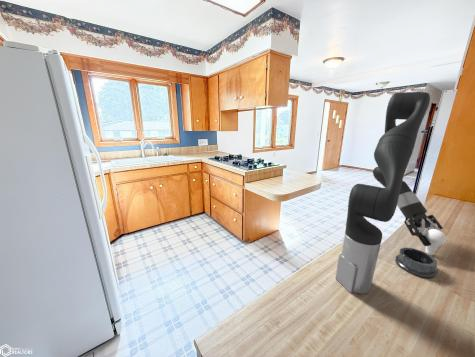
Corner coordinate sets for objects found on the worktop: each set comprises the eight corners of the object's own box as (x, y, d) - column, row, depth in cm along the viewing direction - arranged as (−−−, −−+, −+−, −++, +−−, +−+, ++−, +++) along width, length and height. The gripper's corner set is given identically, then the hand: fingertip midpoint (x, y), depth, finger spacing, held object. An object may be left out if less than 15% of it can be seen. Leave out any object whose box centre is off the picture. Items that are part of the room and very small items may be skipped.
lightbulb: (444, 260, 71) (453, 235, 68) (425, 258, 72) (433, 233, 69) (432, 250, 77) (439, 226, 74) (414, 248, 78) (421, 225, 75)
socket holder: (422, 281, 62) (425, 270, 60) (387, 259, 72) (390, 249, 70) (444, 274, 64) (448, 263, 63) (408, 254, 75) (411, 244, 73)
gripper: (405, 203, 74) (434, 245, 67) (430, 199, 78) (459, 238, 71) (389, 210, 81) (413, 249, 73) (412, 205, 85) (437, 242, 77)
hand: (435, 243), depth 72 cm, fingers open, 8 cm apart
